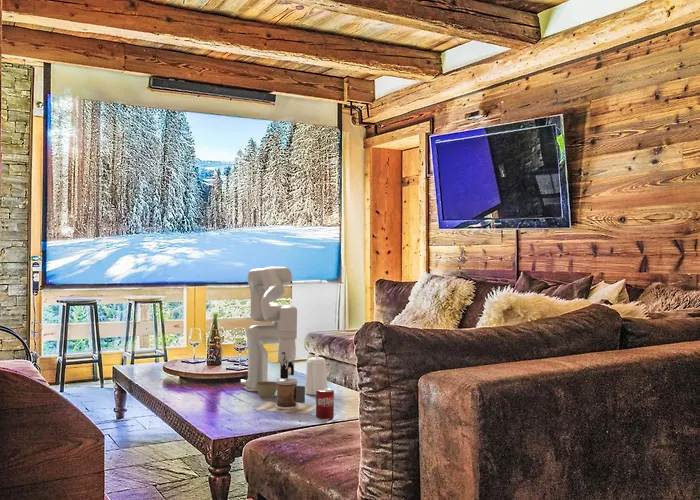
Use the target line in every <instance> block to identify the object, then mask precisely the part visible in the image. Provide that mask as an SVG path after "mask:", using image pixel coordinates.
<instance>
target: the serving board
mask: <svg viewBox="0 0 700 500" xmlns="http://www.w3.org/2000/svg"><path fill="white" fill-rule="evenodd" d="M275 404H277V401H270V400H269V401H265V402H263V403H262V404H260V405H259V406H257V407H255V408H253V410H257V411H266V412H278V413H279V412H281V413H291V414H293V413H294V414H304V415H305V414H306V415H308V414H310V413H312V411H313V410H316V404H309V403H308V404H305V403H297V404H298V408H297V409H294V410H279V409H276V408H275Z"/></svg>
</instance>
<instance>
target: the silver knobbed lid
mask: <svg viewBox="0 0 700 500" xmlns="http://www.w3.org/2000/svg"><path fill="white" fill-rule="evenodd" d="M287 369H288V376H292V375H291V367H287ZM276 382H278V383H283V384H291V383H296V382H298V379H297V378H293V377H288V378H287V379H284V378H277V379H276Z"/></svg>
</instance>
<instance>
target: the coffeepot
mask: <svg viewBox="0 0 700 500" xmlns="http://www.w3.org/2000/svg"><path fill="white" fill-rule="evenodd" d="M306 363H307V365H306V372H305V374H306V376H305V382H304V384H305V385H304V386H305V395H310V396H316V391H317V390H318V389H322V388H328V379H327V361H326V359H325V358H324V357H321V356H320V354H319V353H317V354H314V356H312V357H309V358H308V359H307V361H306Z"/></svg>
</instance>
